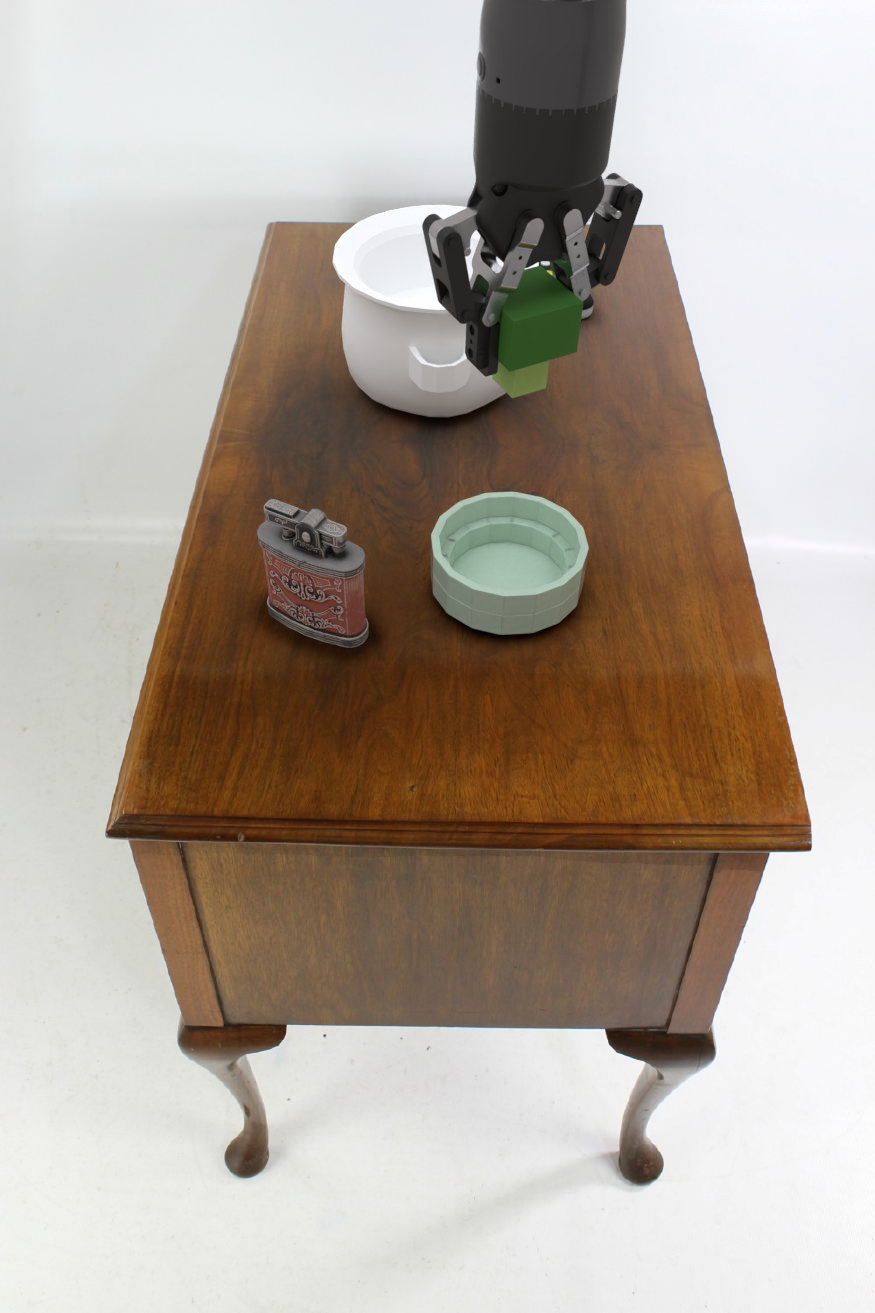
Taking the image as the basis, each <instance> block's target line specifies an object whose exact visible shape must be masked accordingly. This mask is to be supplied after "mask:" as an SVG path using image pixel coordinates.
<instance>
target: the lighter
mask: <svg viewBox="0 0 875 1313" xmlns="http://www.w3.org/2000/svg"><path fill="white" fill-rule="evenodd" d="M263 514H264V521H263V522H262V523H261V524H260V525H259V526H258V528H257V531H256V536H257V541H258V544H259V546H260V547H261V551H262V557H263V558H262V559H263V565H264V571H265V577H266V579H265V580H266V585H267V592H268V597H267V601H266V605H267V611H268V614H269V615H270V617H271V618H273V619H274V620H276V621H277V622H279V623H281V624H283V625H284V626H285V627H286V628H289V629H291V630H293V631H295V632H296V633H299V634H302V635H303V636H306V637H308V638H312V639H314V640H317V641H319V642H323V643H325V644H330V645H333V646H334V645H335V646H338V647H342V648H351V649H352V648H356V647H359V646H361V645H363V644H364V643H365V642H366V641H367V639H368V637H369V634H370V628H369V622H368V619H367V618H366V602H365V582H364V581H365V580H364V569H365V567H366V554H365V551H364V549H363V548H362V547H360V546H359V545H357V544H355V543H354V542H353V541H350V540H348V530H347V527H346V526H345V525H344V524H341V523H339V522H336V521H333V520H331V519H330V518H329V517H328V516H327V514H326V513H325V512H324V511H323V510H321V509H319V508H312V509H311V510H310V511H306V510H304V509H300V508H299V507H296V506H295V505H291V504H289V503H286V502H283V501H280V500H278V499H274V498H271V499H269V500H268V501H267V502H266V503H265V504H264V505H263Z"/></svg>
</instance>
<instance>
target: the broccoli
mask: <svg viewBox="0 0 875 1313" xmlns="http://www.w3.org/2000/svg"><path fill="white" fill-rule="evenodd" d="M488 290H489V289H488ZM487 293H488V292H487ZM486 295H487V294H486ZM582 310H583V301H582V300H581V299H579V298H578V297H577V296H576V295H575V294H573V293H572V292H571V291H570V290H569V289H567V288H566V287H565V286H564V285H563V284H562V283H560V282H559V281H558V280H557V279H556V278H554V277H553V276H552V275H551V274H550V273H548V272H547V271H546V270H545V269H544V268H542V267H541V266H536V267H532V268H529V269H525V270H524V272H523V275H522V277H521V280H520V282H519V285H518V287H517V289H516V290H515V291H514V292H510V293H509V295H508V298H507V300H506V303H505V305H504V308H503V311H502V313H501V316H500V318H499V320H498V322H499V323H500V336H499V350H498V372H497V373H496V374H494V375H492V378H493V379H494V380H495V381H496V382H497V383H498V384H499V385H500V386H501V387H502V388H503V389H504V390H505V391H506V394H508V396H509V397H510V398H511V399H516V398H518V397H521V396H525V395H529V394H531V393H535V392H538V391H542V390H545V389H546V388H547V384H548V376H549V375H548V374H549V366H550V361H551V360H555V359H559V358H562V357H566V356H569V355H572V354H576V353H577V352H578V346H579V338H580V331H581V325H582V319H581V317H582Z"/></svg>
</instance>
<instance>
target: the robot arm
mask: <svg viewBox="0 0 875 1313" xmlns="http://www.w3.org/2000/svg"><path fill="white" fill-rule="evenodd" d="M627 2H628V0H482V5H481V10H480V16H479V26H478V38H477V42H478V43H477V57H476V64H475V65H476V66H475V67H476V81H475V83H476V84H475V105H474V106H475V107H474V124H473V126H474V127H473V145H472V146H473V148H472V159H473V165H474V172H475V182H474V187H473V188H472V191H471V192H470V196H469V197H468V198H467V199H468V200H467V203H466V207H467V208H466V209H464V210H462V211H460V212H458V213H456V214H454V215H452V216H449V217H447V218H445V219H442V218H441V217H440V216H438V215H437V214H430V215H428V216H427V217H426V218H425V220H424V222H423V225H422V228H423V233H424V238H425V243H426V247H427V252H428V257H429V261H430V266H431V271H432V275H433V280H434V285H435V289H436V294H437V298H438V302H439V303H440V304H441V305H442V306H443V307H444V308H445V309H446V310H447V311H448V312H449V313H450V314H451V315H452V316H453V317H454V318H455V319H456V320H457V321H458V322H459V323H461V324H466V341H465V344H466V345H465V354H466V357H467V359H468V360H469V361H470V362H471V363H472V364H473V365H474V366H475V367H476V368H477V369H478V370H479V371H480V372H481V373H482V374H483V375H484V376H485V377H487V376H490V375H494V374H496V373H497V372H498V350H499V336H500V323H499V322H498V320H499V318H500V316H501V313H502V311H503V308H504V305H505V303H506V300H507V298H508V295H509V293H510V292H514V291H515V290H516V289H517V287H518V285H519V282H520V280H521V277H522V275H523V272H524V269H525V268H528V267H530V266H532V265H534V264H536V263H538V262H540V261H549V263H550V267H551V271H552V275H553V277H554V278H556V279H557V280H558V281H559V282H560V283H562V284H563V285H564V286H565V287H566V288H567V289H569V290H570V291H571V292H572V293H573V294H575V295H576V296H577V297H578V298H579V299H581V300H582V301H583V303H584V300H585V299H586V298H587V297H588V296H589V294H591V292H592V289H594V288H596V287H598V286H599V285H601V286H603V287H607V286H610V285H611V284H612V283H613V282H614V281H615V279H616V276H617V274H618V271H619V268H620V265H621V262H622V259H623V256H624V254H625V250H626V248H627V245H628V242H629V239H630V236H631V233H632V231H633V228H634V225H635V221H636V218H637V217H638V216H637V215H638V213H639V210H640V207H641V204H642V201H643V199H644V193H643V191H642V190H641V189H640V188H639V187H637V186H636V185H635V184H633V182H631V181H630V180H628V179H626V178H625V177H623V176H621V175H619V174H618V173H616V172H611V173H609V174H608V175H607V176H606V177H605V178H603V176H602V175H603V174H604V172H605V171H606V169H607V167H608V165H609V159H610V153H611V152H610V151H611V146H612V138H613V130H614V124H615V123H614V122H615V116H616V115H615V114H616V108H617V101H618V95H619V89H620V88H619V87H620V80H621V73H622V65H623V59H624V52H625V46H626V45H625V44H626V34H627V15H628V14H627V12H628V11H627V9H628V8H627V4H628V3H627ZM591 217H592V218H591ZM590 219H591V220H590ZM589 220H590V224H589V226H588V230H587V233H586V236H585V235H584V228H585V226H586V225H587V223H588V222H589ZM476 230H477V231H478V233H479V234H480V239H479V242H478V245H477V248H476V250H475V253H474V256H473V259H472V268H473V274H472V277H471V279H470V281H469V275H468V270H467V264H466V259H465V256H469V255H470V253H471V249H470V239H471V236H472V234H473V233H474V232H475V231H476ZM603 248H604V249H603ZM602 251H603V252H602ZM496 256H497V257H498V258H499V259H500V260H501V261H502V262H503V263H504V264H503V267H501V266H500V265H499V264H498V263H497V260H496ZM488 289H489V290H488ZM487 292H488V293H487ZM486 294H487V295H486Z"/></svg>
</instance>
